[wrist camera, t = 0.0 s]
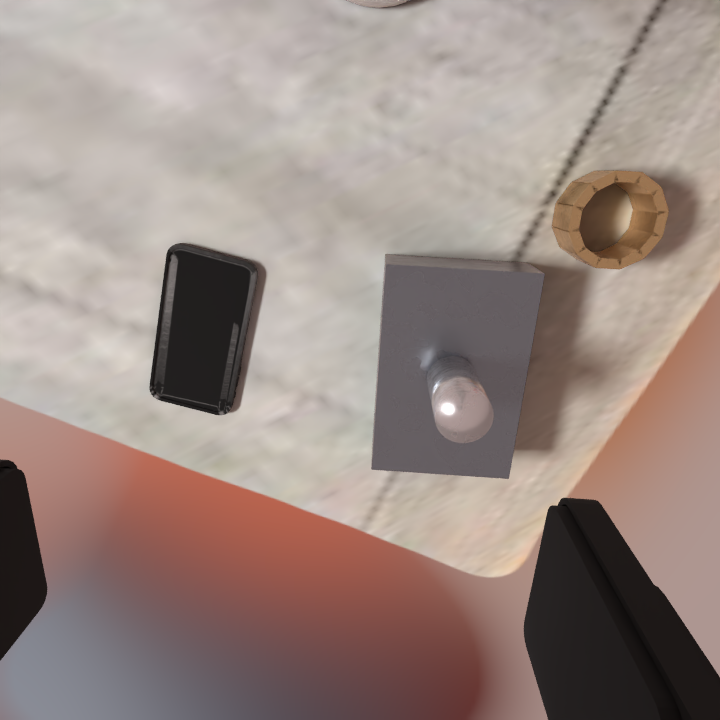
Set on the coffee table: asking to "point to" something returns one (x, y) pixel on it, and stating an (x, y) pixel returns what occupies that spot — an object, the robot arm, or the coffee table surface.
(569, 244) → the bronze ring
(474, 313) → the grey peg board
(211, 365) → the phone
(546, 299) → the coffee table surface
